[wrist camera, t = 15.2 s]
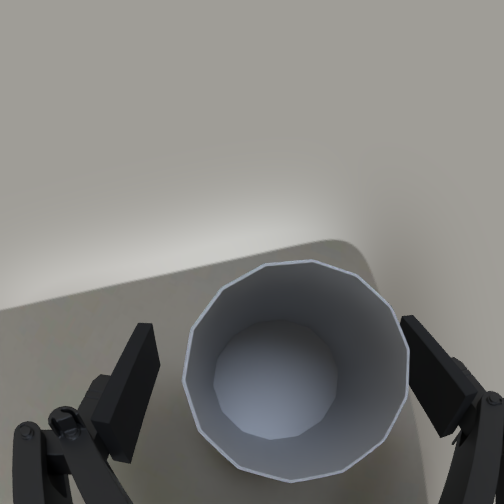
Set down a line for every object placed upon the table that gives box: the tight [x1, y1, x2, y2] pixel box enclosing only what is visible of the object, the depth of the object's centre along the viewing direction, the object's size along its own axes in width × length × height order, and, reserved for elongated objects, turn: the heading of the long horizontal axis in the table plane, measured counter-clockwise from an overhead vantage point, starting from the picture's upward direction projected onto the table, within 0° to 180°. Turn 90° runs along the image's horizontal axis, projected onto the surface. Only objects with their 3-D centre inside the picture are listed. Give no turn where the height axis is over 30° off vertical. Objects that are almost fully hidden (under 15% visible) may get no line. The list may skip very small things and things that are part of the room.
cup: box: [182, 259, 410, 483], centre depth 14 cm, size 8×8×10 cm
